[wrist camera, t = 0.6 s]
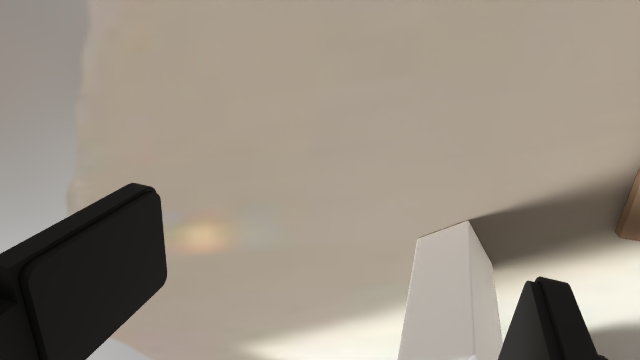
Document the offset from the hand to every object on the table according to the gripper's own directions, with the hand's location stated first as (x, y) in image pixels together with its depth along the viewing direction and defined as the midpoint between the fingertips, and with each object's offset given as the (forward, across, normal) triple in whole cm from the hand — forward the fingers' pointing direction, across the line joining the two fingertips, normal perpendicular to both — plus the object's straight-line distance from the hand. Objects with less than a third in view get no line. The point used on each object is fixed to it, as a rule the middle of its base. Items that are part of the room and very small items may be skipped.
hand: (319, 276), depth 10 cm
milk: (+33, -7, +18) cm, 39 cm away
